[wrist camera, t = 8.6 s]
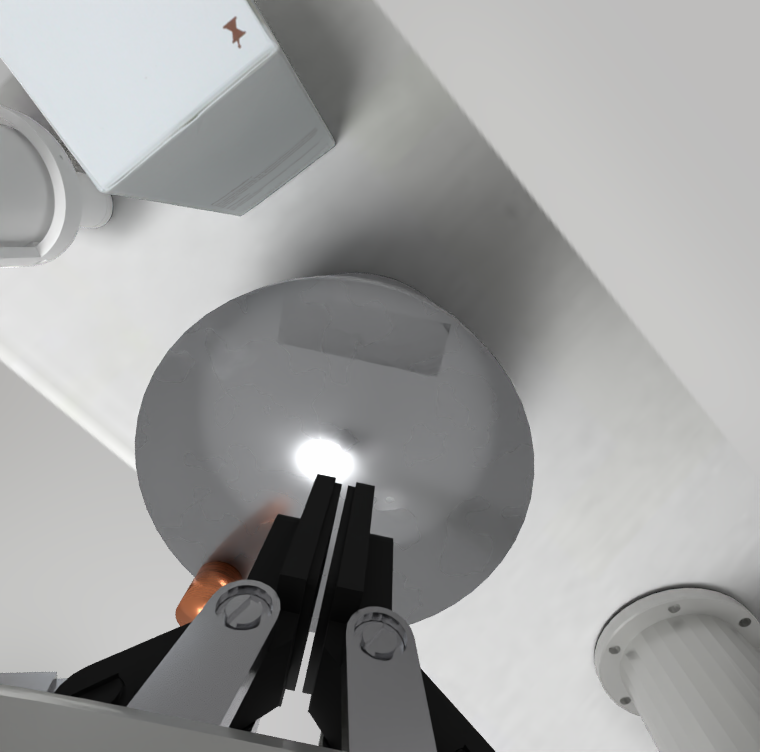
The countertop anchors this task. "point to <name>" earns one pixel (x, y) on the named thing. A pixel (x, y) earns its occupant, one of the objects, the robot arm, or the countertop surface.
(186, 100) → the supplement box
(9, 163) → the white caged cylinder
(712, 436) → the countertop surface
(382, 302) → the lid
